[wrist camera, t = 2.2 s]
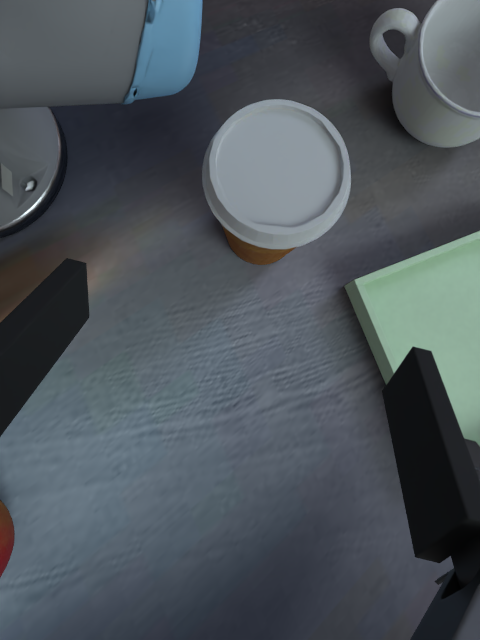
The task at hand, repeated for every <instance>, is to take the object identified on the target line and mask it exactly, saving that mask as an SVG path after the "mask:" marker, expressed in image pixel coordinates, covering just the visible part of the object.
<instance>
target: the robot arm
mask: <svg viewBox="0 0 480 640" xmlns="http://www.w3.org/2000/svg"><path fill="white" fill-rule="evenodd" d="M201 21H202V0H0V238H2V237H5V236H8V235H11V234H13V233H15V232H18V231H20V230H22V229H23V228H25V227H27V226H28V225H30V224H31V223H33V222H34V221H35V220H36V219H38V218H39V217H40V216H41V215H42V214H43V213H44V212H45V211H46V210H47V209H48V207H49V206H50V205H51V204H52V202H53V201H54V199H55V198H56V196H57V194H58V192H59V190H60V188H61V186H62V183H63V181H64V177H65V173H66V167H67V146H66V140H65V137H64V133H63V131H62V128H61V126H60V124H59V122H58V120H57V118H56V117H55V115H54V113H53V112H52V111H51V109H50V108H49V106H70V105H91V104H112V103H121V104H130V103H132V102H133V101H134V100H139V99H146V98H153V97H161V96H168V95H173V94H175V93H178V92H180V90H182V89H183V88H185V87H186V86H187V85H188V84H189V82H190V81H191V79H192V77H193V75H194V72H195V69H196V65H197V61H198V54H199V46H200V35H201ZM88 318H89V303H88V286H87V269H86V263H84V262H80V261H76V260H72V259H68V258H67V259H66V260H64V261H63V262H62V263H61V264H60V265H59V266H58V267H57V268H56V269H55V270H54V271H53V272H52V273H51V274H50V275H49V276H48V277H47V278H46V279H45V280H44V281H43V282H42V283H41V284H40V285H39V286H38V287H37V288H36V289H35V290H34V291H33V292H32V293H31V294H29V295H28V296H27V297H26V298H25V299H24V300H23V301H22V302H21V303H20V304H19V305H18V306H17V307H16V308H15V309H14V310H13V311H12V312H11V313H10V314H9V315H8V316H7V317H6V318H5V319H4V320H3V321H2V322H1V323H0V436H1V435H2V434H3V432H4V431H5V430H6V428H7V427H8V426H9V424H10V423H11V422H12V420H13V419H14V418H15V416H16V415H17V414H18V412H19V411H20V410H21V408H22V407H23V405H24V404H25V403H26V401H27V400H28V399H29V397H30V396H31V395H32V393H33V392H34V391H35V389H36V388H37V387H38V385H39V384H40V383H41V381H42V380H43V379H44V377H45V376H46V375H47V373H48V372H49V371H50V369H51V368H52V367H53V365H54V364H55V363H56V361H57V360H58V359H59V357H60V356H61V355H62V353H63V352H64V351H65V349H66V348H67V347H68V345H69V344H70V343H71V341H72V340H73V338H74V337H75V336H76V334H77V333H78V332H79V330H80V329H81V328H82V326H83V325H84V324H85V322H86V321H87V320H88ZM382 393H383V398H384V403H385V408H386V413H387V418H388V423H389V428H390V433H391V438H392V443H393V448H394V453H395V458H396V463H397V468H398V473H399V478H400V483H401V488H402V493H403V498H404V503H405V508H406V514H407V519H408V524H409V529H410V534H411V539H412V544H413V549H414V554H415V557H417V558H421V559H425V560H429V561H433V562H437V563H440V562H442V561H443V560H445V559H446V558H448V557H449V556H451V558H452V562H453V565H454V569H452V570H450V571H449V572H447V573H446V574H444V575H442V576H441V577H439V578H438V579H437V580H436V581H435V582H436V583H437V584H438V585H439V584H440V583H442V582H443V583H442V585H441V587H440V589H439V590H438V592H437V594H436V596H435V597H434V599H433V601H432V603H431V604H430V606H429V608H428V610H427V611H426V613H425V615H424V617H423V618H422V620H421V622H420V624H419V625H418V627H417V629H416V631H415V632H414V634H413V636H412V638H411V639H410V640H480V446H479V445H478V444H477V442H476V441H472V440H468V439H464V437H463V434H462V431H461V429H460V426H459V423H458V421H457V418H456V415H455V413H454V410H453V407H452V405H451V402H450V399H449V397H448V394H447V391H446V389H445V386H444V383H443V381H442V378H441V375H440V373H439V370H438V367H437V365H436V362H435V359H434V356H433V354H432V351H429V350H425V349H421V348H418V347H414V346H413V347H412V348H411V350H410V351H409V352H408V354H407V355H406V357H405V358H404V360H403V361H402V363H401V364H400V366H399V367H398V369H397V370H396V372H395V373H394V375H393V376H392V377H391V379H390V380H389V382H388V383H387V385H386V386H385V388H384V389H383V391H382Z"/></svg>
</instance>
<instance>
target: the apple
mask: <svg viewBox="0 0 480 640" xmlns="http://www.w3.org/2000/svg"><path fill="white" fill-rule="evenodd" d="M13 545H14V526H13V521H12V518H11V516H10V513H9V511H8V509H7V507H6V506H5V505H4V504H3V503H2V501H1V500H0V577H1V575H2V573H3V572H4V570H5V568H6V566H7V564H8V561H9V559H10V556H11V553H12V550H13Z"/></svg>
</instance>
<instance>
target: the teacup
mask: <svg viewBox="0 0 480 640" xmlns="http://www.w3.org/2000/svg"><path fill="white" fill-rule="evenodd" d="M390 29H395V30H398V31H400V32H401V33H403V34H404V36H405V38H406V43H405V47H404V51H405V53H404V55H403V56H402V58H401V59H399V58H398V57H397V56H396V55H394V54H393V53H392V52H391V50H390V49H389V48H388V47H387V45H386V43H385V42H384V39H383V35H382V34H383V33H384V32H385V31H387V30H390ZM370 50H371V52H372V54H373V56H374V58H375V59H376V61H377V62H378V64H379V65H380V66H381V67H382V68H383V69H384V70H385V71H386V72H387V77H388V79H389V80H390V81H392V82H393V86H392V101H393V106H394V110H395V112H396V115H397V117H398V119H399V121H400V123H401V124H402V126H403V127H404V128H405V129H406V131H407V132H408V133H409V134H411V135H412V136H413V137H414V138H416V139H417V140H419V141H421V142H423V143H425V144H428V145H431V146H435V147H443V148H449V147H457V146H462V145H465V144H468V143H471V142H473V141H475V140H477V139H479V138H480V0H437V1H436V2H435V3H434V4H433V6H432V7H431V9H430V10H429V11H428V13H427V14H426V16H425V18H424V20H423V22H422V24H421V23H420V22H419V20H418V19H417V17H416V16H415V15H414V14H413V13H412V12H410V11H408V10H406V9H403V8H394V9H391V10H388V11H386V12H385V13H383V14H382V15H381V16H380V17H379V18H378V19H377V21H376V22H375V23H374V26H373V28H372V31H371V34H370Z"/></svg>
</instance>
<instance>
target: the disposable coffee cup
mask: <svg viewBox="0 0 480 640" xmlns="http://www.w3.org/2000/svg"><path fill="white" fill-rule="evenodd" d="M202 184H203V189H204V193H205V197H206V200H207V202H208V204H209V206H210V208H211V210H212V212H213V214H214V216H215V217H216V218H217V219H218V220H219V222H220V223H221V224H222V227H223V230H224V232H225V235H226V237H227V240H228V243H229V245H230V247H231V249H232V250H233V251H234V252H235V254H236V255H237V256H239V257H240V258H241V259H243V260H245V261H246V262H249V263H252V264H258V265H265V264H270V263H273V262H276V261H278V260H280V259H281V258H282V257H284V256H285V255H286V254H288V253H289V252H290V251H292V250H293V249H294V248H296V247H298V246H303V245H305V244H307V243H309V242H311V241H313V240H315V239H317V238H319V237H320V236H322V235H323V234H324V233H325V232H327V231H328V230H329V229H330V228H331V227H332V226H333V225H334V224H335V222H336V221H337V220H338V219H339V217H340V216H341V214H342V212H343V210H344V208H345V206H346V204H347V200H348V197H349V193H350V186H351V172H350V163H349V157H348V151H347V149H346V146H345V144H344V141H343V139H342V137H341V135H340V134H339V132H338V131H337V129H336V128H335V127H334V126H333V124H332V123H331V122H330V121H329V120H328V119H327V118H325V117H324V116H323V115H322V114H320V113H319V112H317V111H316V110H314V109H313V108H311V107H308V106H306V105H303V104H300V103H297V102H294V101H290V100H280V99H276V100H264V101H261V102H257V103H254V104H251V105H248V106H246V107H244V108H243V109H241V110H239V111H238V112H236V113H235V114H234V115H232V116H231V117H230V118H229V119H228V120H227V121H226V122H225V123H224V124H223V125H222V127H221V128H220V129H219V130H218V132H217V133H216V134H215V136H214V137H213V138H212V140H211V142H210V144H209V146H208V149H207V151H206V153H205V156H204V162H203V167H202Z"/></svg>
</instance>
